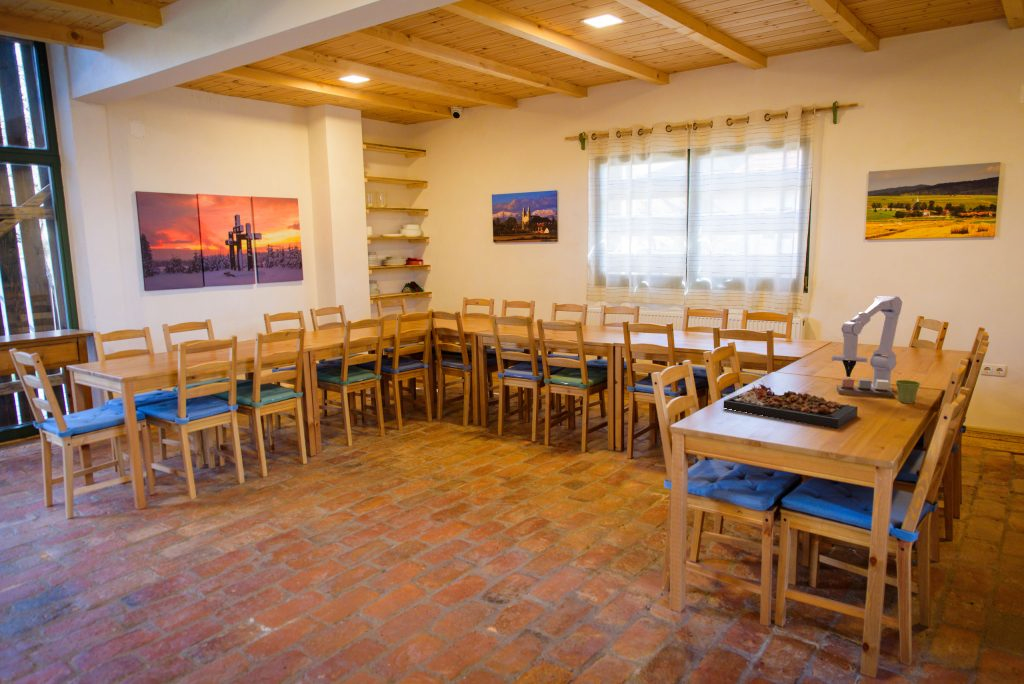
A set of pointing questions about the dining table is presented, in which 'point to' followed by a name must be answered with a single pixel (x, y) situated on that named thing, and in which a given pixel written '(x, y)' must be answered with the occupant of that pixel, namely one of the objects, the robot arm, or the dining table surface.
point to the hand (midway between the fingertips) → (848, 376)
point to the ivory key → (882, 384)
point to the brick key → (847, 382)
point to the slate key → (864, 383)
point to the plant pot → (907, 390)
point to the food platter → (792, 407)
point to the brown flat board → (865, 391)
